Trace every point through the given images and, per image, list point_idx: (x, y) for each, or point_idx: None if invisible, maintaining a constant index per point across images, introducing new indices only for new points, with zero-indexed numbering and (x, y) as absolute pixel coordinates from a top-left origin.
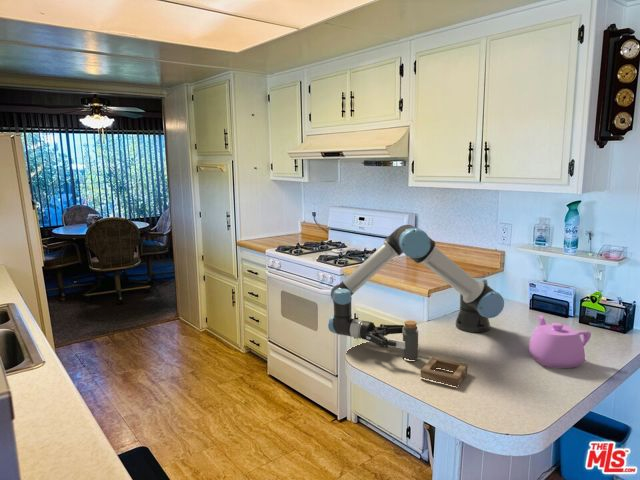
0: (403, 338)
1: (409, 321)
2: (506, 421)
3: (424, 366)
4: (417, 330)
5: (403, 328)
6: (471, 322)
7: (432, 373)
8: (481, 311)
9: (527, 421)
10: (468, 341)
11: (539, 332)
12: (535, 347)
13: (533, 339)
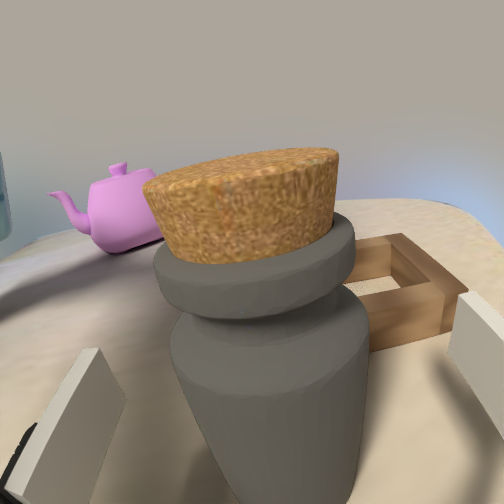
0: (355, 399)
1: (196, 172)
2: (421, 209)
3: (428, 298)
4: (91, 350)
5: (30, 485)
6: None
7: (441, 266)
8: (6, 209)
9: (393, 204)
10: (21, 345)
11: (126, 181)
12: (142, 211)
13: (122, 205)
